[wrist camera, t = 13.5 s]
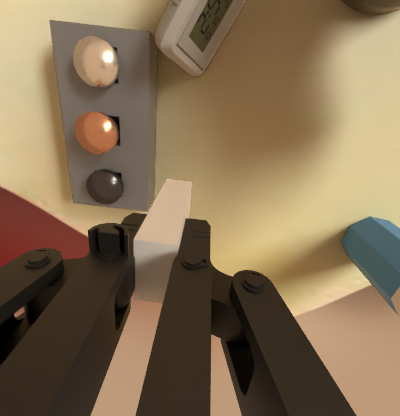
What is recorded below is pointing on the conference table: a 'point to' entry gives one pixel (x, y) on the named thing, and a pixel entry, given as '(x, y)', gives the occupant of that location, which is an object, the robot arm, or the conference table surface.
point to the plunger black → (105, 186)
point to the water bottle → (377, 256)
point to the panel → (111, 111)
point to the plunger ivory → (96, 61)
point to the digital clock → (195, 31)
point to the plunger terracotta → (97, 132)
